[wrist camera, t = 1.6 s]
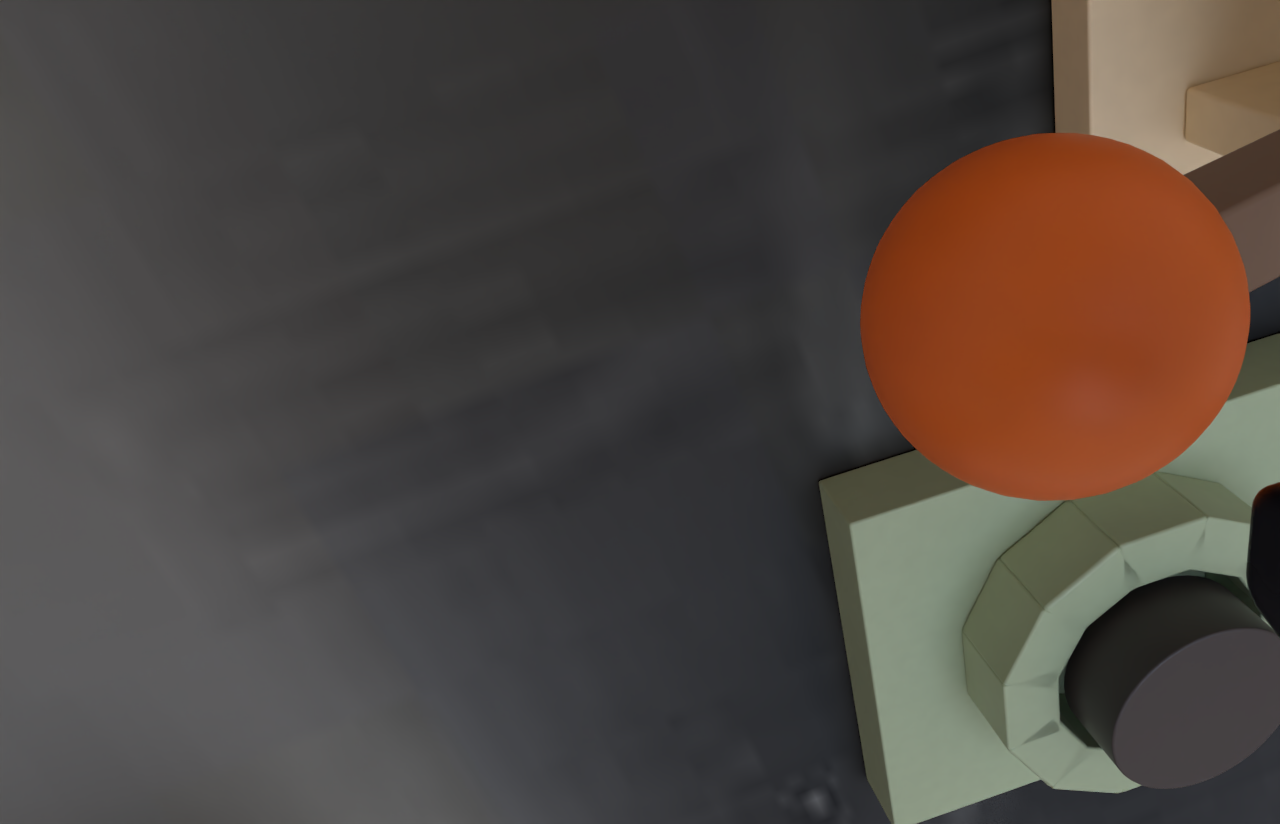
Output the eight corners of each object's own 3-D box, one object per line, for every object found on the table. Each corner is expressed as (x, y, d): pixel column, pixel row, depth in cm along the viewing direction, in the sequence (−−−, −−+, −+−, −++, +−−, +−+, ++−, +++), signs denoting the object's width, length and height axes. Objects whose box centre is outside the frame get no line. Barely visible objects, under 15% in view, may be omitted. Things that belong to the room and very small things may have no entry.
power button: (1065, 753, 25) (1113, 815, 23) (1059, 611, 23) (1111, 669, 21) (1234, 693, 25) (1292, 750, 23) (1243, 549, 23) (1308, 601, 21)
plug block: (866, 778, 28) (930, 895, 25) (817, 480, 24) (888, 578, 21) (1270, 637, 29) (1377, 733, 26) (1296, 326, 25) (1429, 398, 22)
